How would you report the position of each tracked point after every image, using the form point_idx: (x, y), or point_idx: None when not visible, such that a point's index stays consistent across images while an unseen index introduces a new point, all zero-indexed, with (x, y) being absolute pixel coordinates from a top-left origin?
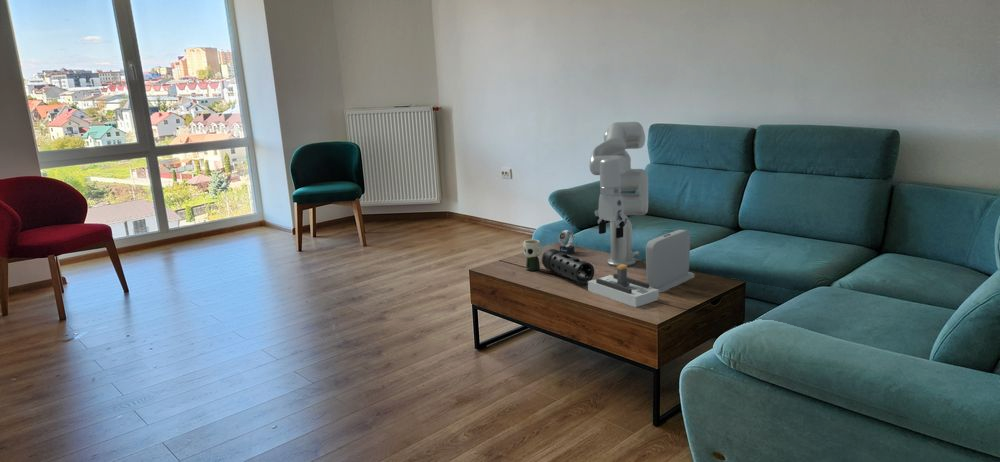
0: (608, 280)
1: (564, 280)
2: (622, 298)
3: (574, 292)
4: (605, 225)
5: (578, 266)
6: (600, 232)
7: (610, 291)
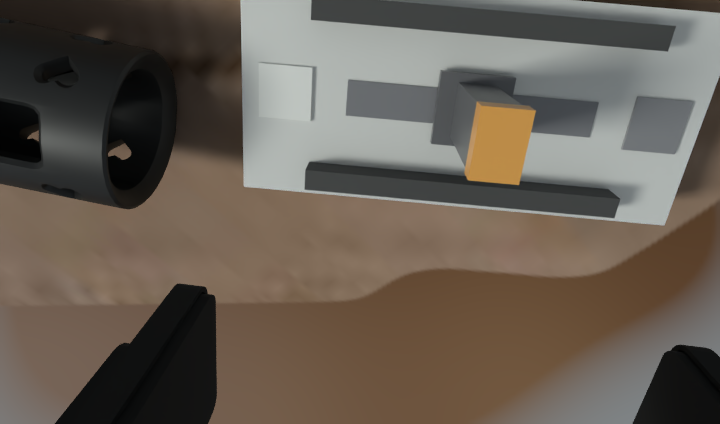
0: (328, 87)
1: None
2: None
3: (229, 230)
4: (147, 410)
5: (106, 199)
6: (209, 419)
7: None
